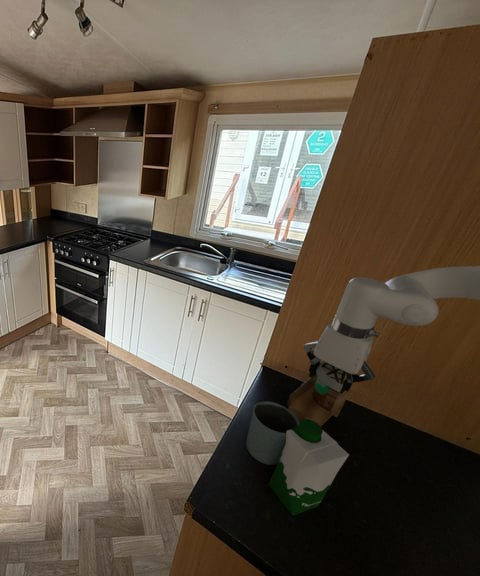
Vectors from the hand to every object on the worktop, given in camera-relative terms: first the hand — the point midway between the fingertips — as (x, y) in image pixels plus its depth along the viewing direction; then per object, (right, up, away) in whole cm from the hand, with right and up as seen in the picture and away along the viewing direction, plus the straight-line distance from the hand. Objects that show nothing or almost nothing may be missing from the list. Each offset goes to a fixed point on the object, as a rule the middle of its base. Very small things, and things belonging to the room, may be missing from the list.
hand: (327, 382), depth 84 cm
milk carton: (-18, -22, -13) cm, 31 cm away
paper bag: (0, -13, +6) cm, 14 cm away
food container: (0, -5, +2) cm, 5 cm away
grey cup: (-18, -17, -2) cm, 25 cm away
